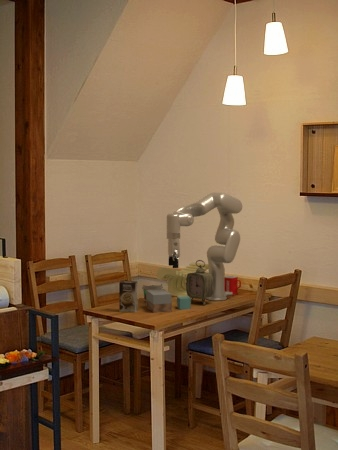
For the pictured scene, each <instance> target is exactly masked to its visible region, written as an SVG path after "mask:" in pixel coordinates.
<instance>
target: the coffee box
mask: <svg viewBox="0 0 338 450" xmlns="http://www.w3.org/2000/svg"><path fill="white" fill-rule="evenodd" d="M118 285H119V290H118V291H119V293H118V295H119V296H118V298H119V299H118V300H119V302H118V303H119V305H118V307H119V308H118V309H119V310H118V312H119V313H137V311H138V281H137V280H134V281H133V280H121V281H119V284H118Z"/></svg>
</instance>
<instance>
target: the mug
mask: <svg viewBox="0 0 338 450" xmlns="http://www.w3.org/2000/svg"><path fill="white" fill-rule="evenodd" d="M238 282H239V283H238ZM238 284H239V286H238ZM241 287H242V280H241V279H239V278H238V276H237V275H225V291H226V292H232V293H233V294H232V295H231V296H235V295H237V294H238V290H239V289H240V288H241ZM234 294H235V295H234Z"/></svg>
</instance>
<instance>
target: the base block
mask: <svg viewBox="0 0 338 450" xmlns="http://www.w3.org/2000/svg"><path fill="white" fill-rule="evenodd" d="M172 304H173V303H172V302H171V303H168V304H152V303H151V302H150V301H148V300H147V303H146V308H147V309H149V310H150V311H151V312H152V313H153V314H155V313H159V314H160V313H171V312H172V310H173V309H172V306H173V305H172Z"/></svg>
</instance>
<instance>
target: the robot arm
mask: <svg viewBox="0 0 338 450" xmlns="http://www.w3.org/2000/svg"><path fill="white" fill-rule="evenodd" d="M242 203H243V202H242V201H241V200H240V199H238V198H236V197H234V196H232V195H231V194H228V193H224V192H210V193H209V194H207V195H206V196H204V197H203V198H201V199H199V200H198V201H196V202H193V203H191V204H187V205H184V206H182V207H180V208H178V209H176V211H174V212H173V213H168V214H167V215H166V239H167V254H168V266H170V267H171V266H172V269H178V268H179V257H181V248H180V247H181V246H180V243H181V242H180V240H181V227H190V226H192V225H193V224H194V221H195V218H196V217H202V216H204V215H206V214H208V213H209V212H211V211H212V210H214V209H215V208H216V209H217V211H218V214H219V218H220V220H219V224H218V226H217V229H216V232H215V235H214V236H215V237H214V241H215V243H216V244H219V245H211V246H209V247H208V248H207V251H206V258H207V264H208V266H209V269H208V273H210V274H211V275H213V277H214V293H213V295H212V297H208V298H205V300H209V301H216V302H217V301H219V302H220V301H226V300H227V299H228V296H233V295H232V294H233V293H232V292H226V291H225V276H226V275H225V273H226V270H225V265H224V264H230V263H233V261H234V259H235V257H236V255H237V252H238V248H239V246H240V244H241V243H240V242H241V234H240V232H239V231H238V230H237V229H234V226H235V218H234V216H233V214H234V215H235V214H236V215H237V214H239V213H241V212H242V210H243V204H242Z"/></svg>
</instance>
